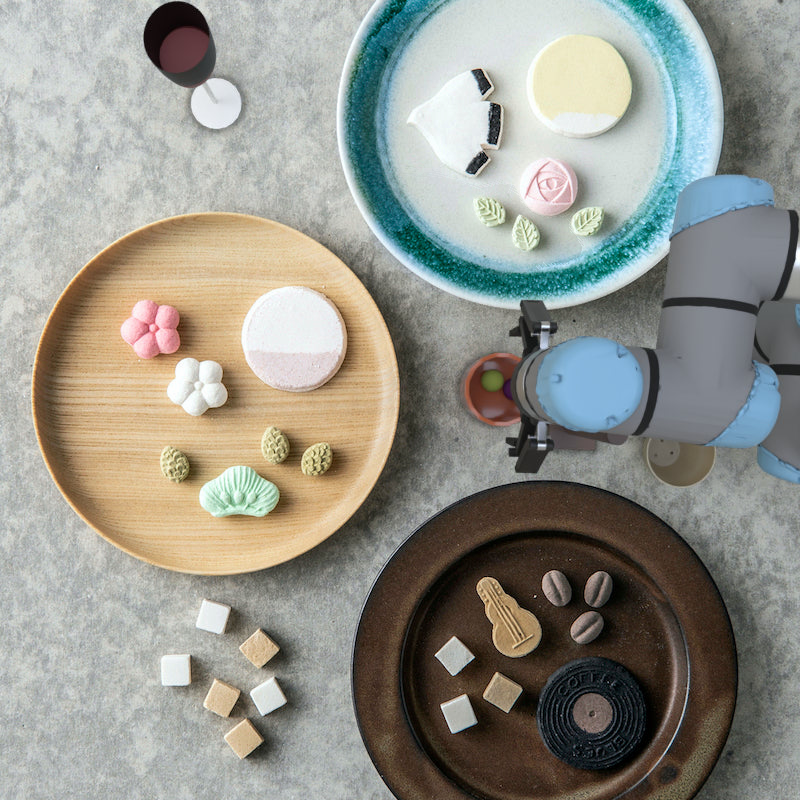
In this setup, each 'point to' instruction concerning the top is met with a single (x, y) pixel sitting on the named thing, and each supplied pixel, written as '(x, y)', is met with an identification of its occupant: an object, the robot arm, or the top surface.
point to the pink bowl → (485, 403)
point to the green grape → (492, 380)
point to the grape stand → (581, 438)
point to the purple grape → (507, 389)
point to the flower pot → (678, 462)
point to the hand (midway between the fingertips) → (517, 387)
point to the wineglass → (191, 61)
